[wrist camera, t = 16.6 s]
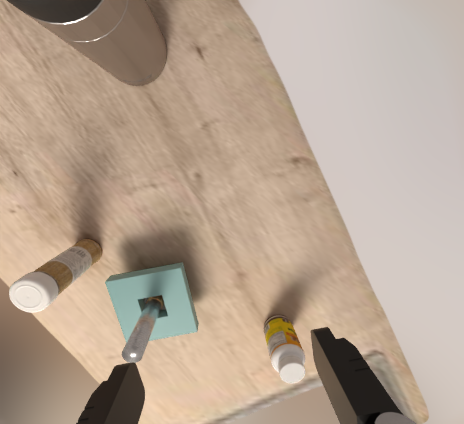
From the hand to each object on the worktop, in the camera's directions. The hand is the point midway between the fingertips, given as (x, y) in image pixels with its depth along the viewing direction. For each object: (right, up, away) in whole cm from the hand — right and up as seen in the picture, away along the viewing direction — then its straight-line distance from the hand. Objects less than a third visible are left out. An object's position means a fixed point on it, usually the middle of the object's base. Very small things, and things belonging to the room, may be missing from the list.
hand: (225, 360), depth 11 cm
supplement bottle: (+9, -15, +36) cm, 40 cm away
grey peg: (-13, -8, +32) cm, 36 cm away
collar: (-13, -8, +30) cm, 33 cm away
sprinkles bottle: (-24, 0, +30) cm, 39 cm away
